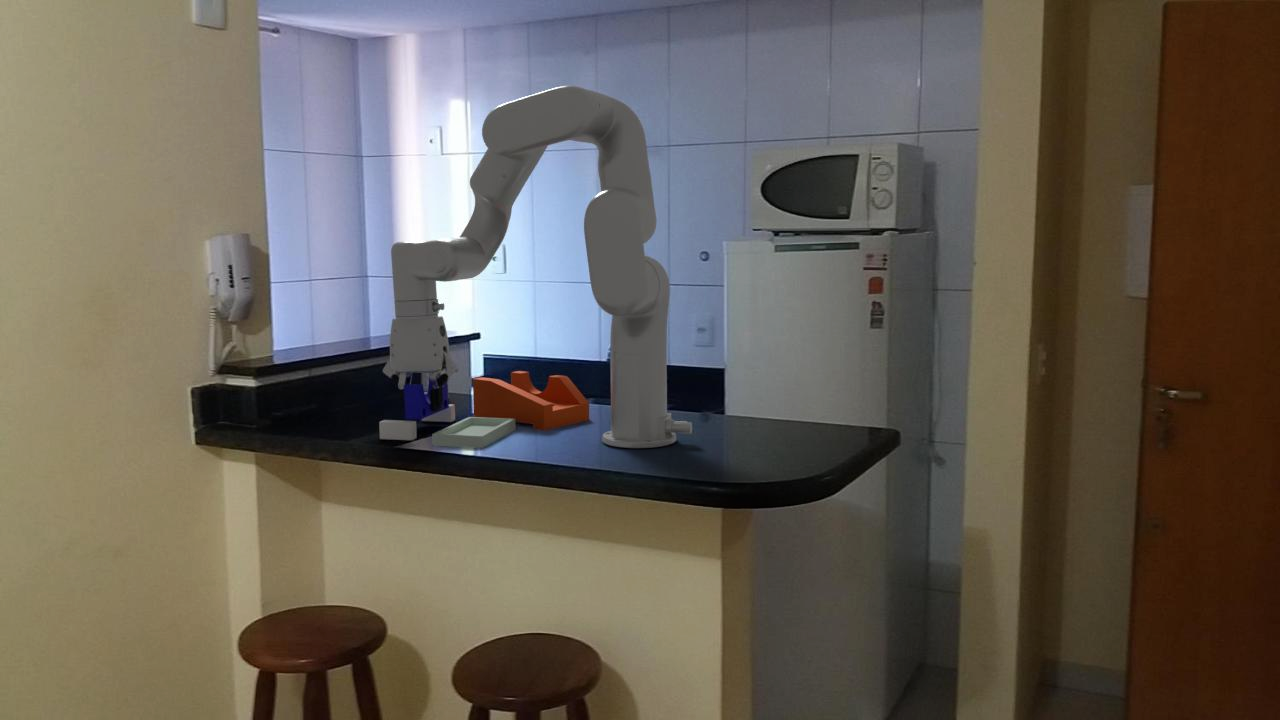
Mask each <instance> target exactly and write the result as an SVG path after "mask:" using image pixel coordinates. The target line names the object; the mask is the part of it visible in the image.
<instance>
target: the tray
mask: <svg viewBox="0 0 1280 720" xmlns="http://www.w3.org/2000/svg"><path fill="white" fill-rule="evenodd" d="M514 431H516V421H515V419H512V418H485V417H474V416H467V417H466V418H463V419H462V420H460V421H457V422H455V423H453V424H451V425H449V426H447V427H445V428H442V429H440V430H438V431H436V432H434V433H432V434H431V436H432V437H431V438H432V439H431V440H432V447H450V448H451V447H453V448H474V449H475V448H477V449H478V448H479V449H484V448H485V447H487V446H489V445H491V444H492V443H494V442H495V441H497V440H500V439H501V438H503V437H505V436H507V435H509V434H510V433H512V432H514Z"/></svg>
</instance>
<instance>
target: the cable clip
mask: <svg viewBox="0 0 1280 720" xmlns="http://www.w3.org/2000/svg"><path fill="white" fill-rule="evenodd" d="M430 389H432V384H431V381H430V378H429V386H428V385H427V391H424V384H422V383H421V384H414V383H413V384H412V383H411V384H407V385H404V400H405V411H404V413H405V415H404V416H405V420H422V419H423V418H426V417H428V416H430V415H433V414H435V413H437V412H440V411H442V410H444V409H447V408H449V404H450V403H449V402H450V401H449V399H448V395H449V394H448V392H449V384H448V385H447V382H446V383H445V384H444V386H443V387H442V397H443V404H442V406H441V409H439V410H437V411H432V410H431V405H430Z"/></svg>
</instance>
